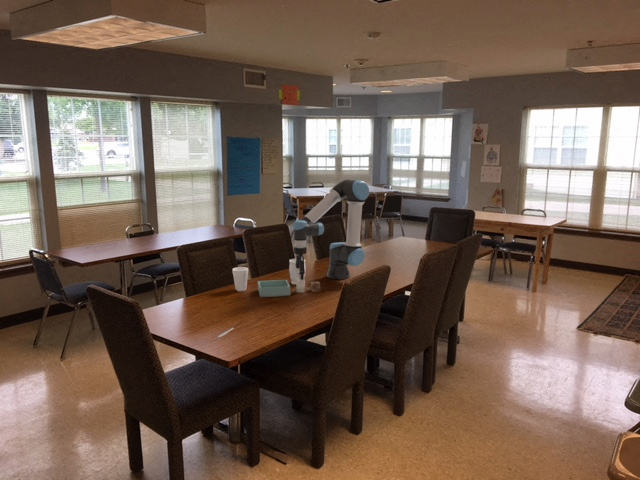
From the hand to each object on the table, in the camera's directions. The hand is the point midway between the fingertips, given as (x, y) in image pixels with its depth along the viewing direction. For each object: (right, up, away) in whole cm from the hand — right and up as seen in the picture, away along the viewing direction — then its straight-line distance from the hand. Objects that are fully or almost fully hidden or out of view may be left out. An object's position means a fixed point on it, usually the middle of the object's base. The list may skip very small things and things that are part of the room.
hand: (299, 281), depth 304 cm
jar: (-2, -3, +20) cm, 20 cm away
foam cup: (-36, -5, +6) cm, 37 cm away
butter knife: (-30, -18, -58) cm, 68 cm away
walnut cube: (+9, -6, +3) cm, 11 cm away
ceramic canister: (0, -6, +1) cm, 6 cm away
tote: (-15, -6, -1) cm, 17 cm away
